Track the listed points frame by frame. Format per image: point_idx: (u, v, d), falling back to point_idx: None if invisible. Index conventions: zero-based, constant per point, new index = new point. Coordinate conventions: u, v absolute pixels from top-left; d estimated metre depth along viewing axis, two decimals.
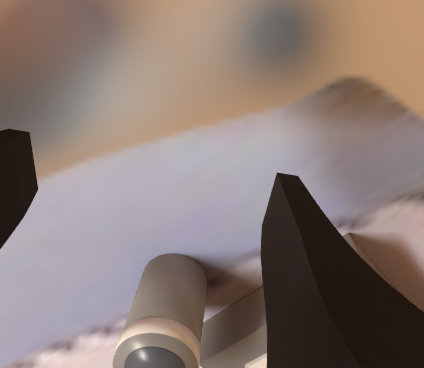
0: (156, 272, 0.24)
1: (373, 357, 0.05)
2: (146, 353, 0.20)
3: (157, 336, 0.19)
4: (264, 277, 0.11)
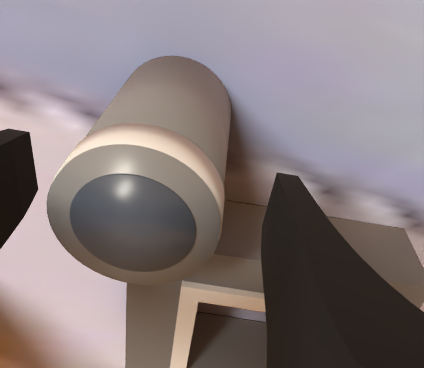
0: (195, 80, 0.13)
1: (373, 357, 0.05)
2: (151, 196, 0.09)
3: (203, 186, 0.09)
4: (264, 277, 0.11)
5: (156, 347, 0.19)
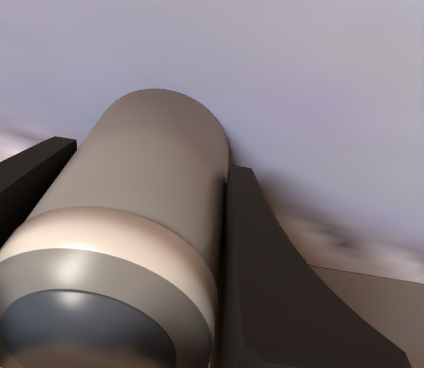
0: (182, 124, 0.10)
1: (264, 340, 0.05)
2: (110, 315, 0.07)
3: (184, 307, 0.06)
4: None
5: None
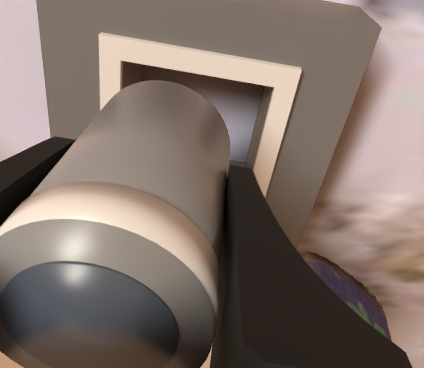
0: (180, 110, 0.10)
1: (265, 340, 0.05)
2: (110, 289, 0.06)
3: (184, 275, 0.06)
4: None
5: None
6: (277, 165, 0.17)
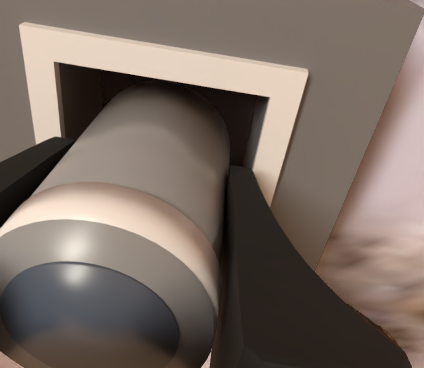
0: (180, 111, 0.10)
1: (265, 340, 0.05)
2: (111, 289, 0.06)
3: (184, 276, 0.06)
4: None
5: None
6: (277, 199, 0.13)
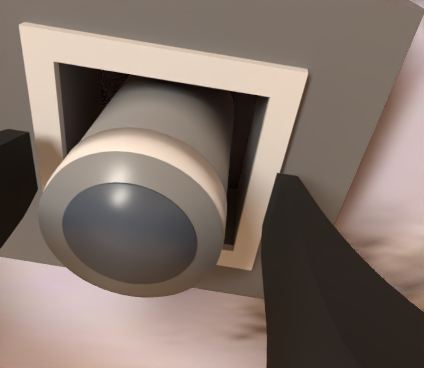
0: None
1: (373, 357, 0.05)
2: (146, 205, 0.09)
3: (200, 193, 0.08)
4: (264, 277, 0.11)
5: None
6: None
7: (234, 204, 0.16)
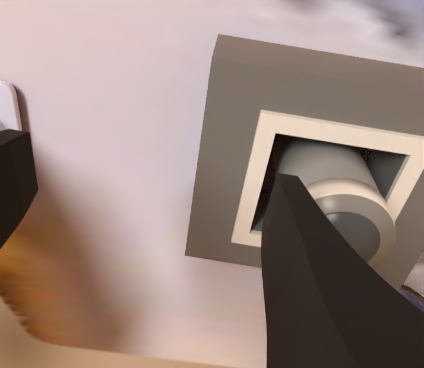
0: None
1: (373, 358, 0.05)
2: (354, 224, 0.15)
3: (390, 217, 0.15)
4: (264, 277, 0.11)
5: (222, 202, 0.19)
6: (398, 216, 0.19)
7: None
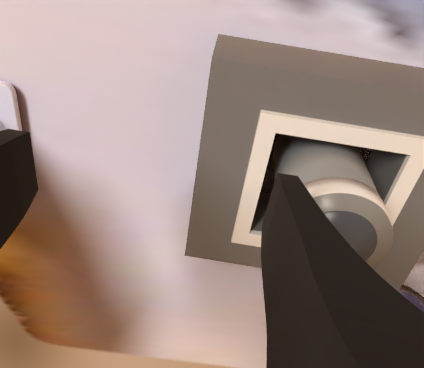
0: None
1: (373, 358, 0.05)
2: (351, 223, 0.15)
3: (387, 217, 0.15)
4: (264, 277, 0.11)
5: (222, 202, 0.19)
6: (398, 216, 0.19)
7: None
